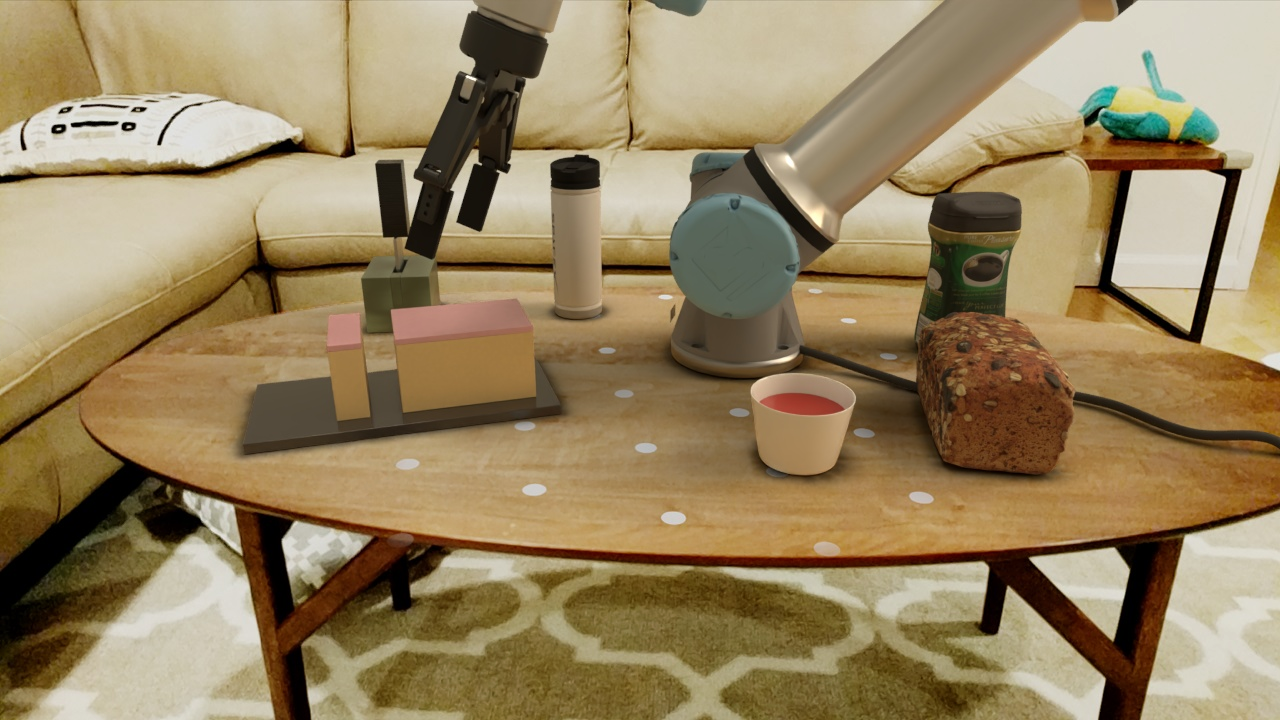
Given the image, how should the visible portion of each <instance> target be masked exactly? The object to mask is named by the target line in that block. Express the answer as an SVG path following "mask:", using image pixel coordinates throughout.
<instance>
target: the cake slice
mask: <svg viewBox="0 0 1280 720" xmlns="http://www.w3.org/2000/svg"><path fill="white" fill-rule="evenodd" d="M326 351H327V358H328V365H329V366H328V367H329V372H330V376H331V381H332V388H333V395H334V402H335V409H336V416H337V421H342V420H350V419H359V418H367V417H370V402H369V383H368V374H367V373H368V366H367V358H366V350H365V343H364V334H363V326H362V319H361V312H350V313H338V314H329V315H328V321H327V335H326Z"/></svg>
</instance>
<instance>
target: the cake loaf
mask: <svg viewBox="0 0 1280 720" xmlns="http://www.w3.org/2000/svg"><path fill="white" fill-rule="evenodd" d="M391 318H392V327H393V332H392V335H393V344H394V354H395V363H396V369H397V372H398V381H399V388H400V396H401V403H402V411H403V413H407V412H415V411H423V410H432V409H440V408H448V407H456V406H465V405H473V404H481V403H489V402H498V401H506V400H514V399H522V398H531V397H536V381H535V359H534V355H535V340H534V339H535V338H534V337H535V336H534V325H533V323H532V322H531V320H530V318H529V317H528V314H527V312H526V311H525V310H524V308H523V307H522V304H521V302H520V300H519V299H518V298H516V297H515V298H508V299H506V298H505V299H496V300H495V299H494V300H482V301H471V302H462V303H450V304H449V303H448V304H440V305H437V306H426V307H415V308H404V309H392V310H391Z"/></svg>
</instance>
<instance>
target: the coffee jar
mask: <svg viewBox="0 0 1280 720" xmlns="http://www.w3.org/2000/svg"><path fill="white" fill-rule="evenodd" d="M1022 208H1023V207H1022V203H1021V200H1020V198H1018V197H1017V196H1014V195H1012V194H1009V193H1006V192H1003V191H963V192H960V191H959V192H944V193H937V194H936V195H935V197H934V199H933V201H932V205H931V211H930V214H929V218H928V222H927V231H928V235H929V238H930V244H931V245H930V256H929V257H930V258H929V265H928V270H927V275H926V280H925V284H924V289H923V292H922V298H921V301H920V306H919V310H918V314H917V317H916V318H917V319H916V324H915V327H914V328H915V329H914V335H913V337H914V341H915V344H916V345H917V346H918V339H919V338H920V333H921V330H922V329H923V328H924V327H925V326H927V325H928V324H929V323H931V322H935V321H937V320H939V319H942V318H945V317H946V316H947V315H948V314H950V313H953V312H957V313H962V312H966V313H969V312H974V313H981V314H993V315H998V316H1002V317H1006V307H1007V305H1006V304H1007V292H1008V291H1007V290H1008V279H1009V267H1010V263H1011V257H1012V252H1013V251H1014V247H1015V246H1016V244H1017V242H1018V240H1019V238H1020V235H1021V232H1022V215H1023V209H1022Z"/></svg>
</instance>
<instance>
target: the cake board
mask: <svg viewBox="0 0 1280 720" xmlns="http://www.w3.org/2000/svg"><path fill="white" fill-rule="evenodd" d="M534 359H535V381H536V397H531V398H522V399H514V400H506V401H498V402H489V403H481V404H473V405H465V406H456V407H448V408H440V409H432V410H423V411H415V412H407V413H403V411H402V403H401V396H400V388H399V381H398V372H397V368H396V369H387V370H378V371H370V372H368V371H367V374H368V383H369V402H370V417H367V418H359V419H350V420H342V421H337V416H336V409H335V402H334V395H333V388H332V381H331V375H330V376H321V377H313V378H312V377H311V378H304V379H294V380H285V381H275V382H266V383H257V384H256V389H255V392H254V396H253V401H252V404H251V409H250V413H249V416H248V421H247V426H246V430H245V433H244V437H243V442H242V450H243V454H244V455H250V454H257V453H258V454H259V453H266V452H274V451H281V450H289V449H298V448H304V447H312V446H313V447H314V446H320V445H328V444H335V443H344V442H345V443H346V442H351V441H359V440H368V439H377V438H384V437H390V436H391V437H392V436H398V435H406V434H414V433H415V434H416V433H422V432H431V431H438V430H445V429H452V428H453V429H454V428H461V427H467V426H476V425H484V424H493V423H500V422H501V423H502V422H508V421H516V420H523V419H530V418H539V417H547V416H555V415H562V403H561V402H560V399H558V396H557V394H556V392H555V391H554V389H553V387H552V385H551V383H550V382H549V379H548V378H547V376H546V374H545V372H544V370H543V368H542V366H541V364H540V362H539V361H538V359H537V356H536V355H535V354H534Z"/></svg>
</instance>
